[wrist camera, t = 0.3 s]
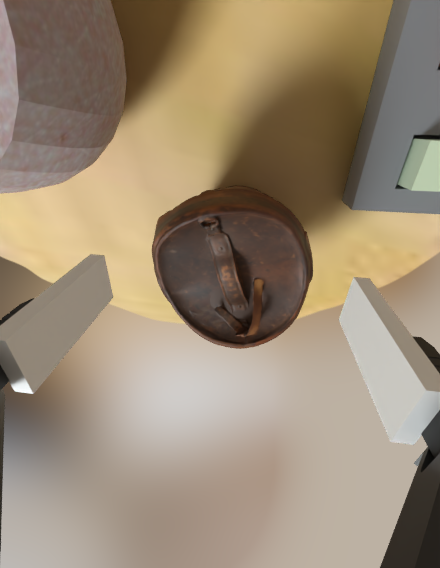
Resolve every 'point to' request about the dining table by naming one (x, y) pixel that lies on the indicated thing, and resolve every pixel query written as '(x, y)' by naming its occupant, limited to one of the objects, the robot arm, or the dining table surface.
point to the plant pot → (57, 89)
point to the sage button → (422, 166)
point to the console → (399, 112)
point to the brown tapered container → (233, 265)
